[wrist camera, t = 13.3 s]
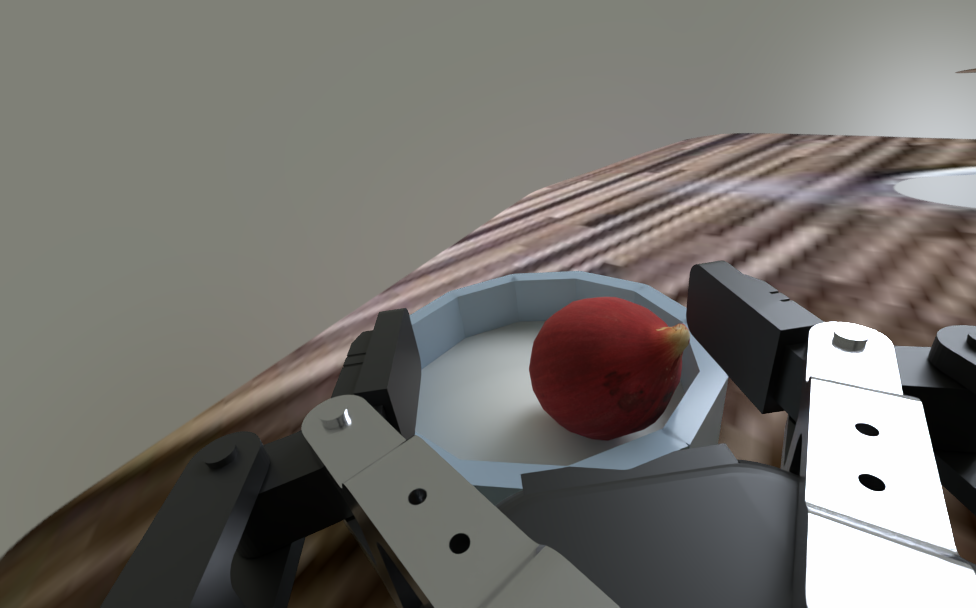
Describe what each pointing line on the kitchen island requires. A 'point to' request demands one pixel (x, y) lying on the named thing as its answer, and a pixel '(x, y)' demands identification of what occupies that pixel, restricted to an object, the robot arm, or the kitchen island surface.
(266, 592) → the robot arm
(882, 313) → the kitchen island surface
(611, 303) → the onion
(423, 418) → the faceted shallow dish
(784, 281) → the kitchen island surface
